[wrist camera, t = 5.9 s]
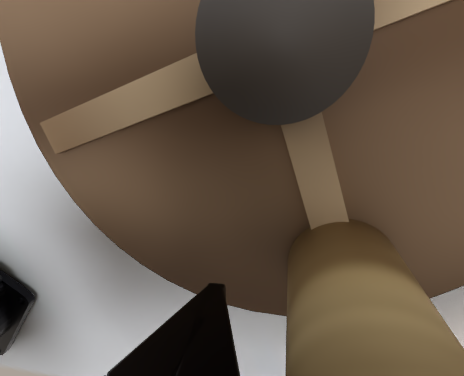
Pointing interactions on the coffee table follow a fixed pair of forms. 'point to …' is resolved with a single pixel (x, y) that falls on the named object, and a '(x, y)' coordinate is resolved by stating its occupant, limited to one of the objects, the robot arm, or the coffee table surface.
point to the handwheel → (267, 157)
